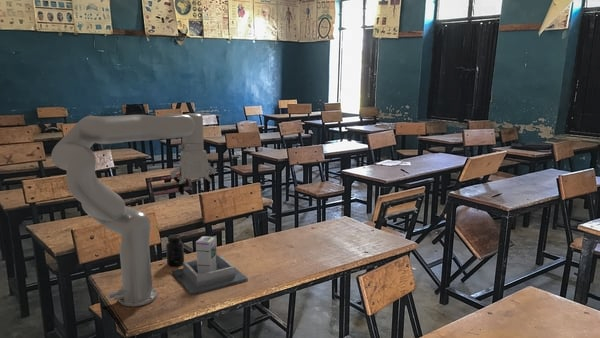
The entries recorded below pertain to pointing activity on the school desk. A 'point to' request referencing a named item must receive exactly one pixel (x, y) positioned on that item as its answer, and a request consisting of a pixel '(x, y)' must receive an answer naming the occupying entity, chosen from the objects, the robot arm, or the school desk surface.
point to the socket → (208, 276)
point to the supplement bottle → (174, 251)
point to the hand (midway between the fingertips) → (194, 192)
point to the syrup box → (206, 254)
